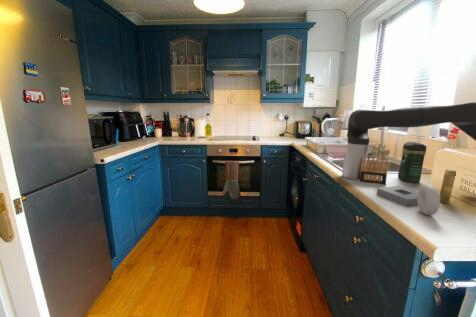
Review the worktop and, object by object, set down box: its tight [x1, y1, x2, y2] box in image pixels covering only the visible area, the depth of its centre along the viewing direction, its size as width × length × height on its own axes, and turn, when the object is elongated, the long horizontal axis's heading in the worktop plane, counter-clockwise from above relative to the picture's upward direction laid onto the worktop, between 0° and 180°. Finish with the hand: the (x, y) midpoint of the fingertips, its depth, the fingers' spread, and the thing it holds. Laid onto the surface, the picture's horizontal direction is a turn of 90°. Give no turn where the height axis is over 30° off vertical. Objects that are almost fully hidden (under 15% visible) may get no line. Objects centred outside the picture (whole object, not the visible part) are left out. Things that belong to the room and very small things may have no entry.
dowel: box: [439, 169, 456, 204], centre depth 83 cm, size 3×3×12 cm
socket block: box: [376, 185, 419, 207], centre depth 87 cm, size 12×12×2 cm
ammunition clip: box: [358, 156, 389, 186], centre depth 104 cm, size 11×2×12 cm, turn 65°
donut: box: [417, 183, 441, 216], centre depth 73 cm, size 10×4×10 cm, turn 161°
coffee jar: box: [397, 141, 427, 183], centre depth 108 cm, size 10×8×19 cm
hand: (469, 179), depth 86 cm, fingers open, 8 cm apart
